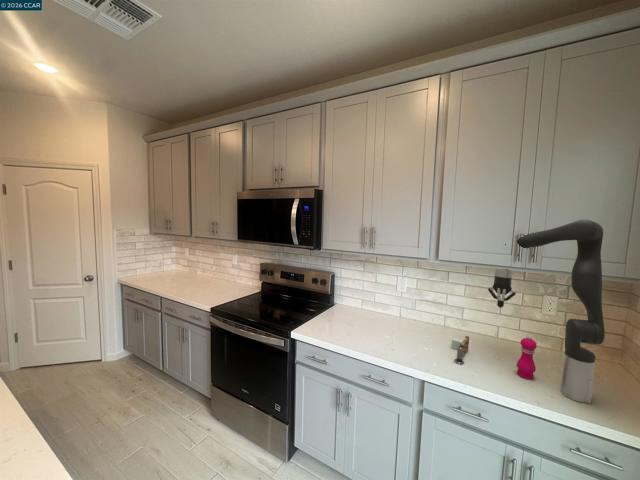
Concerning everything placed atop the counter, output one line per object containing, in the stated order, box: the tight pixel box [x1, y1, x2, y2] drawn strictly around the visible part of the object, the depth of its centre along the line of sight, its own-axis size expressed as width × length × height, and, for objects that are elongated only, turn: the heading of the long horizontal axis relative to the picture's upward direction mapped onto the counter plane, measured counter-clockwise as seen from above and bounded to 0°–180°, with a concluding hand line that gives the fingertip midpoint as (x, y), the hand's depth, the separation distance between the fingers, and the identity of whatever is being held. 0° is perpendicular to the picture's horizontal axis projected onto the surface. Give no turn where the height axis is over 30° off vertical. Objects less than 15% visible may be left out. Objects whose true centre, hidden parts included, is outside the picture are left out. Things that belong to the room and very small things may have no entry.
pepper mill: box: [516, 334, 537, 380], centre depth 128 cm, size 7×7×20 cm
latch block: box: [451, 337, 464, 350], centre depth 153 cm, size 6×3×5 cm, turn 52°
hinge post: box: [454, 346, 465, 366], centre depth 139 cm, size 4×4×8 cm
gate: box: [460, 335, 470, 360], centre depth 146 cm, size 14×2×8 cm, turn 140°
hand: (500, 307), depth 145 cm, fingers closed
